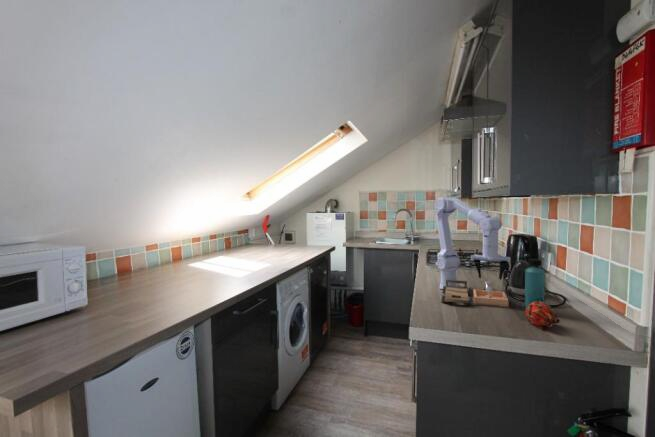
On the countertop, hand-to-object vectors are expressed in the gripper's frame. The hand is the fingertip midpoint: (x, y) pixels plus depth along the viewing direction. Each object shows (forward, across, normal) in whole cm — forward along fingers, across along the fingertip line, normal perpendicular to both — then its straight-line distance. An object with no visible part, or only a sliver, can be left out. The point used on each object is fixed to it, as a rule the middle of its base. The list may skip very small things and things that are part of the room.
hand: (489, 278), depth 131 cm
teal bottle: (+10, +14, -7) cm, 19 cm away
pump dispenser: (+10, +14, +16) cm, 24 cm away
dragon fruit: (+10, +14, -22) cm, 28 cm away
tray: (+10, 0, 0) cm, 10 cm away
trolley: (+10, -13, 0) cm, 16 cm away
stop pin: (+9, 0, 0) cm, 9 cm away
